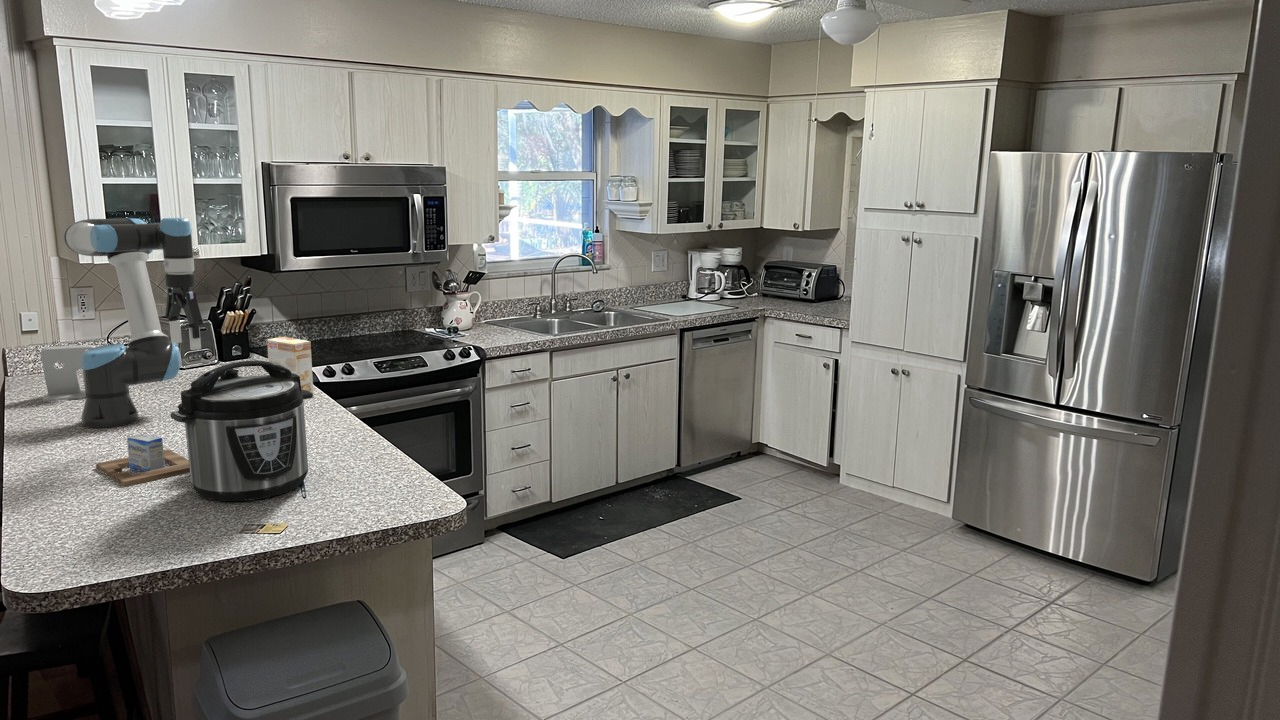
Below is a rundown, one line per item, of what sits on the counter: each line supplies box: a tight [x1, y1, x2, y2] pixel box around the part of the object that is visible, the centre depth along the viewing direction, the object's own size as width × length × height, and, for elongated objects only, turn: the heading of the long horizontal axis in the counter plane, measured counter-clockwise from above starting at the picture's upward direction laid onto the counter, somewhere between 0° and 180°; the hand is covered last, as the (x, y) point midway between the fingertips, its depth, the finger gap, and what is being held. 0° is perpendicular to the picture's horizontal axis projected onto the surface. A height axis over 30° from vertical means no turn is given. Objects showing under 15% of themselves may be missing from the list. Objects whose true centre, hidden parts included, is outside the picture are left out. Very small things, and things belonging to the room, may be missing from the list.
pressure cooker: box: [170, 360, 314, 502], centre depth 222 cm, size 30×28×32 cm
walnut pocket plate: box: [95, 448, 190, 487], centre depth 237 cm, size 20×18×1 cm
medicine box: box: [126, 433, 166, 472], centre depth 236 cm, size 8×4×9 cm, turn 67°
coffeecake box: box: [266, 336, 315, 397], centre depth 314 cm, size 15×7×20 cm, turn 58°
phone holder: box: [40, 344, 97, 402], centre depth 308 cm, size 17×10×18 cm, turn 116°
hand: (186, 346), depth 262 cm, fingers open, 13 cm apart
